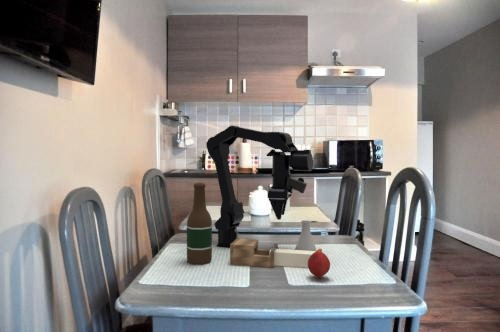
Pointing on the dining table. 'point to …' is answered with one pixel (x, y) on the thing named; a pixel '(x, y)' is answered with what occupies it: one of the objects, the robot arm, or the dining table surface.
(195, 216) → the beer bottle
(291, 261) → the pink-topped cream pillar
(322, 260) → the onion
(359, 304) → the dining table surface
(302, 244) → the flask
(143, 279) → the dining table surface
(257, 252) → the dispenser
